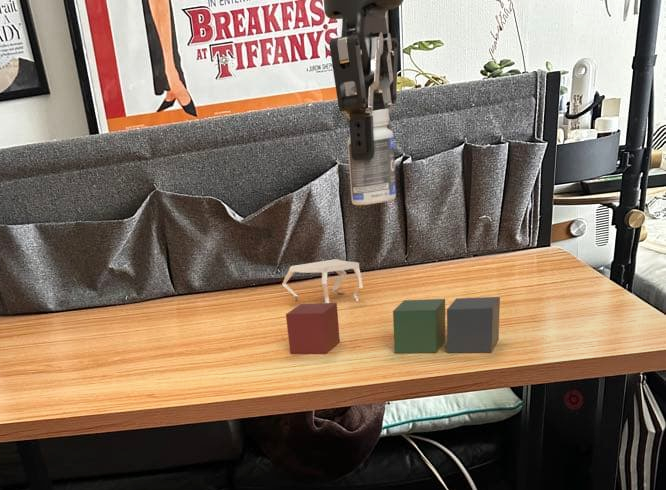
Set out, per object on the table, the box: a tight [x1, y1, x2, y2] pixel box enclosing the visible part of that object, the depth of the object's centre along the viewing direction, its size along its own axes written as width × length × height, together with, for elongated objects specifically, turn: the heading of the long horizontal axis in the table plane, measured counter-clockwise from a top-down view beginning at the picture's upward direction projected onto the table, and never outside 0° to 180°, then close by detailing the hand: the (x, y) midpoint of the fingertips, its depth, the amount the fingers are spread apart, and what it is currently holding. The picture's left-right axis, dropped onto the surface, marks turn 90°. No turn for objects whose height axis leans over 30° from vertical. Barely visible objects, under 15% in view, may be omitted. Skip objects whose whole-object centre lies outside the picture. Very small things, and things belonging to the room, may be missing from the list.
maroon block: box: [285, 302, 341, 355], centre depth 81 cm, size 4×4×4 cm
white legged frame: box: [281, 258, 364, 303], centre depth 101 cm, size 12×8×5 cm
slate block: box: [446, 296, 501, 354], centre depth 73 cm, size 4×4×4 cm
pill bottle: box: [346, 109, 397, 206], centre depth 75 cm, size 5×5×8 cm
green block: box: [392, 298, 446, 354], centre depth 76 cm, size 4×4×4 cm
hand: (371, 155), depth 75 cm, fingers closed on pill bottle, 4 cm apart
